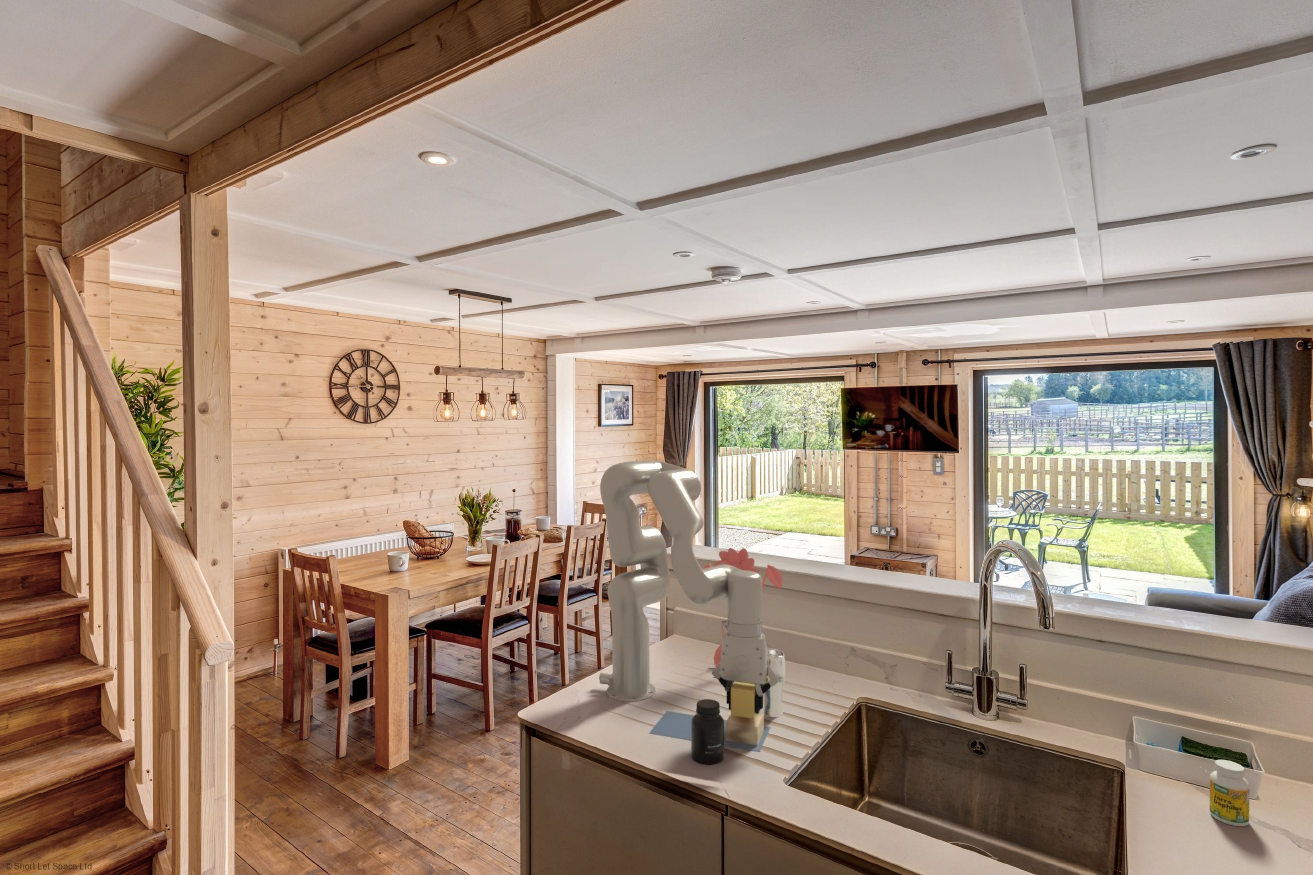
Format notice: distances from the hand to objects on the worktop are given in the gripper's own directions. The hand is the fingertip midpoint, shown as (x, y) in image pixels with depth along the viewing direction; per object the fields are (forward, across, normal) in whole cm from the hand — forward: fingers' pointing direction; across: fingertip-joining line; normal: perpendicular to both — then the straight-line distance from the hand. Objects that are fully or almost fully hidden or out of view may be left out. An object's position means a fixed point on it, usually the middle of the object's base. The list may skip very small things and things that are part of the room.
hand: (744, 708), depth 150 cm
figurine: (+7, -11, +38) cm, 40 cm away
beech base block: (+6, 0, 0) cm, 6 cm away
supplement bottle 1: (+7, -5, -12) cm, 15 cm away
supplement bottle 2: (+7, +87, 0) cm, 87 cm away
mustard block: (+1, 0, 0) cm, 1 cm away
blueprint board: (+7, -8, 0) cm, 11 cm away
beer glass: (+7, +3, +14) cm, 16 cm away
